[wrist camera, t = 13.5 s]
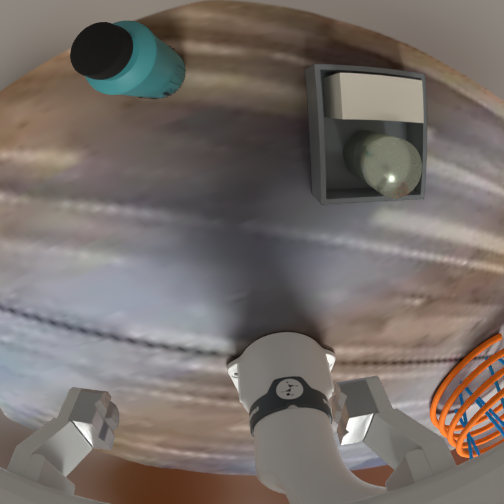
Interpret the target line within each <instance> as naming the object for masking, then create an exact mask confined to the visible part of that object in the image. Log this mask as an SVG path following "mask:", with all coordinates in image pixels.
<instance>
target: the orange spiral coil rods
mask: <svg viewBox="0 0 504 504" xmlns="http://www.w3.org/2000/svg"><path fill="white" fill-rule="evenodd" d="M501 339H502V335H501V334H500V333H499V334H497V335H495V336H493V337H491V338H490V339H488V340H486V341H485V342H483V343H482V344H480V345H479V346H478V347H476V348H475V349H474V350H473V351H472V352H470V353H469V354H468V355H467V356H466V357H465V358H464V359H463V360H461V361H460V363H459V364H458V365H457V366H456V367H455V368H454V369H453V370H452V371H451V372H450V373H449V375H448V376H447V377H446V378H445V380H444V381H443V383H442V384H441V385H440V387H439V389H438V390H437V392H436V394H435V396H434V398H433V401H432V404H431V408H430V418H431V421H432V423H433V425H434V426H435V427H437V428H438V429H439V430H440V433H441V434H442V435H443V436H444V437H446V438H447V439H448V442H449V443H450V445H452V446H453V447H456V451H457V453H458V454H459V455H460V456H463V457H470V459H472V458H473V457H476V456H478V455H480V454H482V453H484V452H486V451H488V450H490V449H492V448H493V447H495V446H497V445H499V444H501V443H502V442H504V439H503V440H501V441H499V442H498V443H496V444H494V445H492V446H489V447H487V448H484V449H481V450H478V448H477V445H480V444H483V443H485V442H487V441H489V440H491V439H493V438H495V437H497V436H498V435H500V434H502V435H503V437H504V422H503V420H504V414H503V415H501V416H500V417H498V416H497V415H496V413H497V412H498V411H500V410H501V409H502V408H503V409H504V398H503V396H504V388H503V389H502V390H501V389H500V387H499V384H498V381H497V380H498V379H499V378H501V377H502V376H503V377H504V367H503V368H502V369H501V370H499V371H498V372H496V373H495V374H494V371H493V369H492V366H491V364H492V363H494V362H495V361H497V360H498V361H499V362H501V363H502V364H504V360H502V359H501V357H503V356H504V349H502V350H500V351H498V352H497V353H495V354H494V355H492V356H491V357H489V358H488V357H487V358H485V361H484V362H483V363H482V364H480V365H479V366H478V367H477V368H476V369H475V370H474V371H473V372H471V373H470V374H469V375H468V376H467V377H466V378H465V379H464V381H463V382H462V381H461V382H460V385H459V386H458V387H457V388H456V390H455V391H454V392H453V393H452V395H451V396H450V397H449V399H448V401H447V402H446V404H445V406H444V407H443V409H442V412H441V414H440V417H439V421H438V419H437V417H436V408H437V404H438V402H439V400H440V398H441V396H442V394H443V392H444V391H445V389H446V388H447V386H448V385H449V383H450V382H451V381H452V380H453V378H454V377H455V376H456V375H457V374H458V373H459V371H460V370H461V369H462V368H463V367H464V366H465V365H466V364H468V363H469V362H470V361H471V360H472V359H473V358H474V357H475V356H477V355H478V354H479V353H480V352H482V351H483V350H484V349H486V348H487V347H489V346H490V345H492V344H494V343H496V342H497V341H500V340H501ZM487 367H489V370H490V372H491V375H492V376H491V377H490V378H489V379H488V380H487V381H485V382H484V383H483V384H482V385H481V386H480V387H479V388H478V389H477V390H476V391H475V392H474V393H472V392H471V391H470V390H469V389H468V387H467V386H468V384H469V383H470V382H471V381H472V380H473V379H474V378H475V377H477V376H478V375H479V374H480V373H481V372H482V371H483V370H485V369H486V368H487ZM493 383H495V386H496V388H497V391H498V393H497V394H496V395H494V396H493V397H492V398H491V399H490V400H489V401H488V402H487V403H485V402H484V401H483V400H482V399H481V398H480V397H479V396H480V395H481V394H482V393H483V392H484V391H485V390H486V389H487V388H488V387H490V386H491V385H492V384H493ZM464 389H465V390H466V391H467V393H468V394H469V395H470V397H469V398H468V399H467V400H466V401H465V403H464V402H463V397H462V393H461V392H462V391H463V390H464ZM458 396H459V398H460V402H461V407H460V409H459V410H458V411H457V409H455V410H454V411H455V413H456V414H455V416H454V418H453V419H452V421H451V423H450V425H449V426H448V425H445V418H446V415H447V413H448V411H449V409H450V407H451V406H452V404H453V403H454V401H455V400H456V398H457V397H458ZM499 400H501V404H500V405H499V406H498V407H496V408H495V409H494V410H492V409H491V407H492V406H493V405H494V404H495V403H496V402H497V401H499ZM474 401H475V402H476V403H477V404H478V406H479V407H480V408H481V409H480V410H479V411H478V412H477V413H476V414H475V415H474V416H473V417H472V418H471V420H470V421H469V422H467V417H466V410H467V409H468V408H469V406H470V405H471V404H472V403H473V402H474ZM480 402H481V403H482V404H483V405H484V406H483V405H482V404H481V403H480ZM488 411H489V412H488ZM484 414H486V415H484ZM462 415H463V418H464V421H463V420H462V418H461V417H462ZM483 415H484V416H483ZM492 416H494V417H495V418H496V420H495V419H494V418H493V417H492ZM488 418H489V419H490V420H491V423H489V424H488V425H486V426H484V427H482V428H480V429H477V430H475V431H472V432H469V431H470V430H471V428H472V427H473V426H475V425H477V424H479V423H481V422H483V421H485V420H487V419H488ZM459 420H460V422H461V424H462V425H457V423H458V421H459ZM498 423H500V424H501V425H502V426H503V427H502V428H501V427H500V426H499V424H498ZM494 426H496V428H497V429H498V430H497V431H496V432H494V433H492V434H490V435H488V436H486V437H484V438H481V439H479V440H476V441H474V440H473V438H472V437H473V436H476V435H478V434H480V433H483V432H485V431H487V430H489V429H490V428H492V427H494ZM458 430H462V432H461V433H460V434H453V433H454V431H458ZM465 438H467V442H464V443H463V441H464V439H465ZM455 439H458V440H457V441H456V440H455ZM472 447H474V449H475V451H472ZM463 448H469V451H465V450H463Z"/></svg>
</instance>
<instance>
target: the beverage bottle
mask: <svg viewBox="0 0 504 504" xmlns="http://www.w3.org/2000/svg"><path fill="white" fill-rule="evenodd" d="M161 40H162V39H161ZM161 40H160V39H159V38H157V37H156V36H155V35H154V34H153V33H152V32H151V31H150V30H149V29H148V28H147V27H146V26H144V25H143V24H141V23H138V22H135V21H120V22H116V23H113V24H111V23H108V22H100V23H95V24H93V25H90V26H89V27H87V28H85V29H84V30H83V31H82V32H81V33H80V34H79V35H78V36H77V37H76V39H75V41H74V42H73V45H72V48H71V53H70V58H71V63H72V65H73V67H74V69H75V70H76V71H77V72H78V73H80V74H81V75H84V76H85V77H86V79H87V81H88V82H89V84H90V85H91V86H92V87H93V88H94V89H95V90H97V91H99V92H101V93H104V94H109V95H118V94H122V95H129V96H140V97H139V98H141V97H145V98H146V99H148V98H147V97H150V98H149V99H156V98H162V97H163V98H164V97H166V96H167V97H168V96H169V95H172V93H174V92H176V90H177V89H178V88H179V87H180V86H182V85H181V84H182V82H183V81H184V78H185V77H186V76H185V71H186V70H185V65H184V62H183V60H182V58H181V57H180V56H179V55H178V54H179V53H178V54H177V53H176V52H175V51H173V50H175V49H173V48H172V49H173V50H172V49H171V47H170V45H169V46H167V45H166V44H165V43H164V42H162V41H161ZM177 91H178V90H177Z"/></svg>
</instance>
